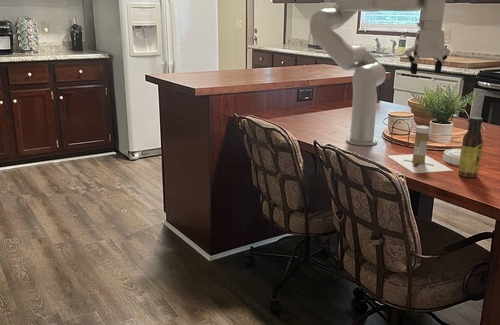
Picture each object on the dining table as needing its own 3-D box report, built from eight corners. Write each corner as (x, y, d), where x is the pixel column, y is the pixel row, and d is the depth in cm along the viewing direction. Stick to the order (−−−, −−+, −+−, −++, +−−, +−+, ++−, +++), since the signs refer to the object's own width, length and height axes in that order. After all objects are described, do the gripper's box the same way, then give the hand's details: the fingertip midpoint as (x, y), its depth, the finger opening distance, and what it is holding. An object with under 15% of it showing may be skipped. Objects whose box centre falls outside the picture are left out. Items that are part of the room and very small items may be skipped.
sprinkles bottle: (409, 160, 179) (413, 125, 175) (421, 160, 180) (426, 124, 175) (415, 164, 175) (419, 128, 171) (427, 164, 175) (431, 128, 171)
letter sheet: (386, 155, 185) (386, 155, 185) (422, 153, 188) (422, 153, 188) (413, 173, 166) (413, 173, 166) (453, 170, 169) (453, 170, 169)
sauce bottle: (478, 179, 161) (487, 120, 155) (457, 177, 163) (466, 119, 157) (477, 173, 167) (486, 116, 160) (457, 171, 169) (465, 115, 163)
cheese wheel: (482, 161, 180) (484, 152, 179) (470, 169, 172) (472, 159, 171) (450, 154, 188) (451, 145, 187) (437, 161, 180) (438, 152, 179)
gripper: (414, 26, 171) (409, 75, 177) (458, 26, 175) (452, 74, 180) (404, 25, 178) (399, 72, 184) (446, 25, 182) (440, 71, 187)
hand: (425, 73), depth 182 cm, fingers open, 9 cm apart
